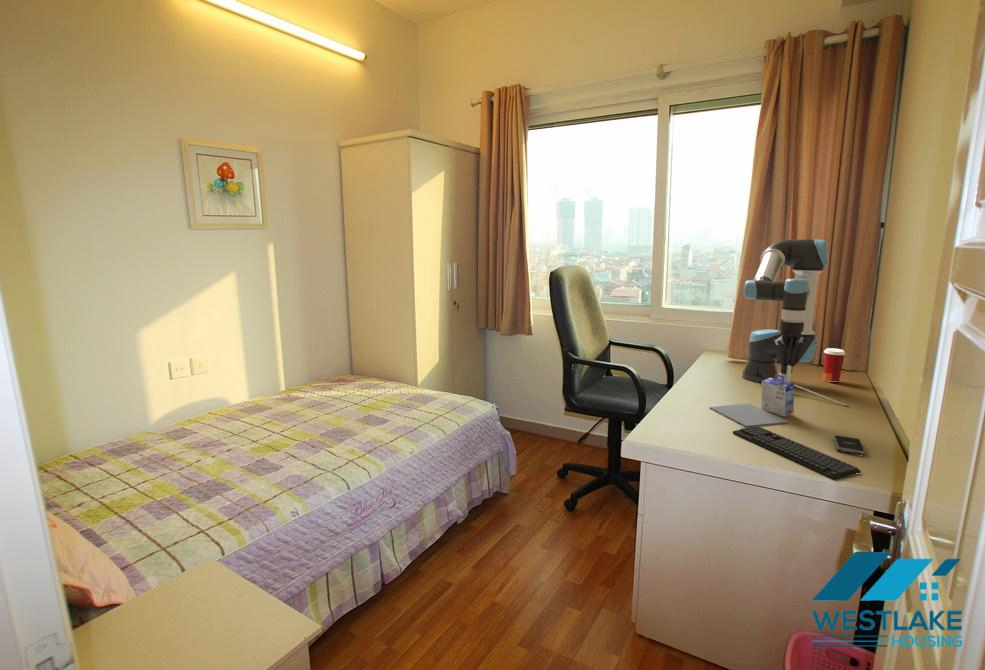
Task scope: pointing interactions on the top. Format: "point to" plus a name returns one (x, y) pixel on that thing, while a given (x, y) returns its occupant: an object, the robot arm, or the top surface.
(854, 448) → the external hard drive
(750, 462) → the top surface
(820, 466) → the keyboard
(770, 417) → the mat
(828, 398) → the brush
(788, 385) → the ink cartridge box
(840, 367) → the coffee cup
